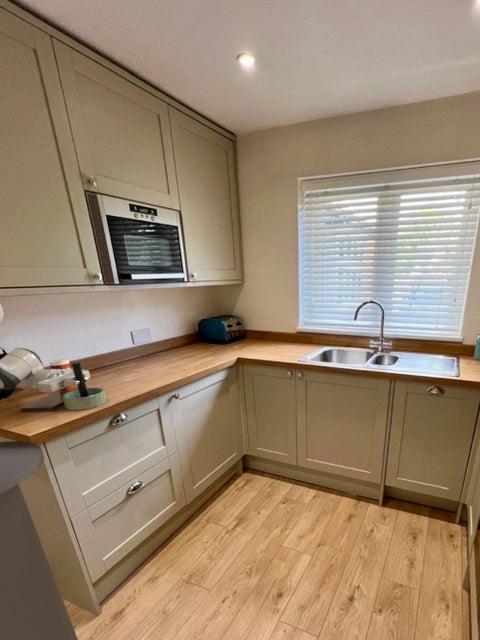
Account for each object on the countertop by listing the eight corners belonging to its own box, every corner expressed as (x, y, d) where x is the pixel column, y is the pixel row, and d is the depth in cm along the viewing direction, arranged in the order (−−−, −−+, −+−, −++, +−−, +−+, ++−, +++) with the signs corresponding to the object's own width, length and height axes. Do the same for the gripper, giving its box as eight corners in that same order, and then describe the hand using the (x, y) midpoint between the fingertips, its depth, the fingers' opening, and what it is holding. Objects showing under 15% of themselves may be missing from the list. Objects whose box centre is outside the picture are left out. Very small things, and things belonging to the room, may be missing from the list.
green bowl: (93, 410, 130) (90, 398, 128) (57, 411, 130) (53, 399, 128) (113, 397, 143) (110, 387, 142) (80, 398, 143) (77, 387, 141)
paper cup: (76, 390, 153) (68, 361, 148) (56, 393, 150) (47, 363, 145) (77, 386, 160) (69, 357, 155) (58, 388, 156) (49, 359, 151)
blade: (96, 405, 134) (86, 364, 128) (70, 408, 131) (58, 366, 125) (100, 398, 142) (91, 359, 136) (76, 401, 139) (65, 361, 133)
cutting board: (52, 411, 130) (51, 407, 129) (21, 411, 129) (20, 408, 129) (83, 394, 148) (83, 391, 148) (56, 394, 148) (55, 391, 148)
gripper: (25, 380, 124) (58, 381, 122) (70, 366, 143) (99, 367, 141) (30, 395, 126) (62, 397, 124) (74, 380, 145) (102, 381, 143)
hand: (82, 381), depth 133 cm, fingers open, 3 cm apart
